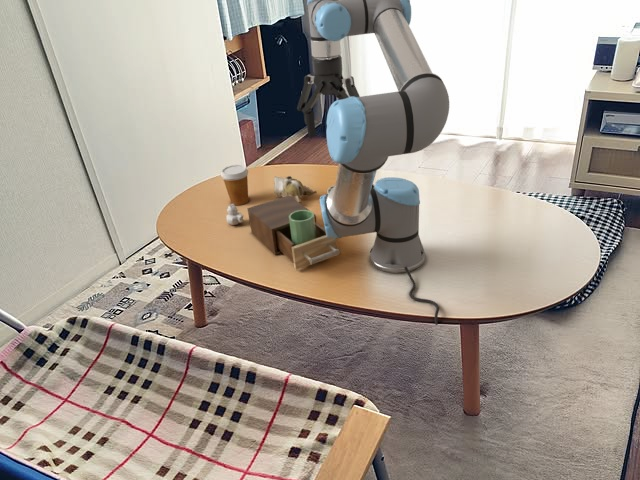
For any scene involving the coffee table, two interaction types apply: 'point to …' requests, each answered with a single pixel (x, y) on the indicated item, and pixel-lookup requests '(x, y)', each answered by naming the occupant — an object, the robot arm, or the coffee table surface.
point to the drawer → (306, 247)
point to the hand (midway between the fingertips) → (332, 138)
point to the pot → (302, 226)
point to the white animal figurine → (233, 215)
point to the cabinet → (272, 219)
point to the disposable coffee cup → (236, 183)
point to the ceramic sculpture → (291, 188)
